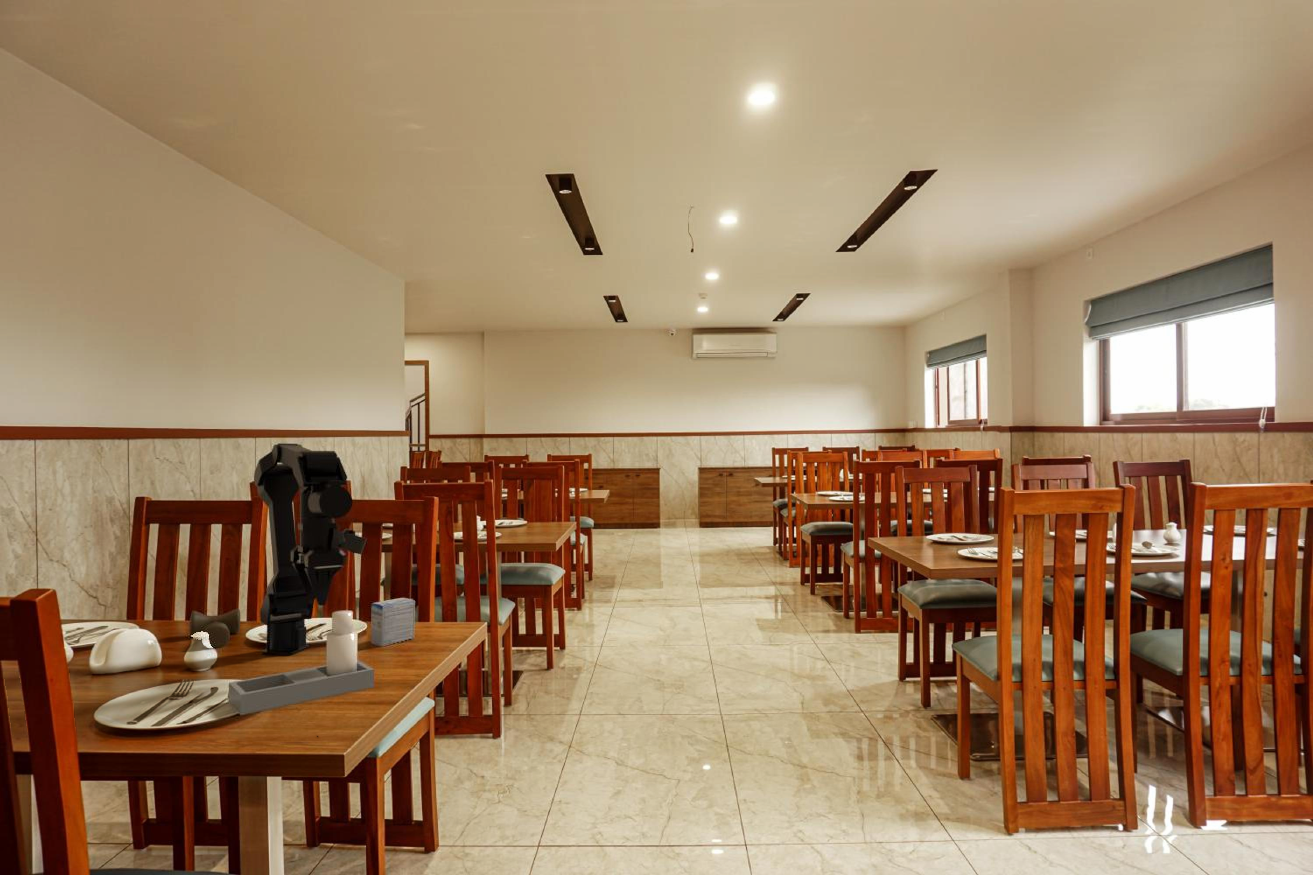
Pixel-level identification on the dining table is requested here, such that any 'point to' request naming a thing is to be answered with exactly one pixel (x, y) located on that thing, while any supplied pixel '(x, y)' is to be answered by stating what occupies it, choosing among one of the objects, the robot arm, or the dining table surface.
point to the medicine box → (392, 621)
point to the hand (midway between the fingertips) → (317, 602)
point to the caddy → (296, 688)
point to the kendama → (216, 626)
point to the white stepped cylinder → (341, 645)
